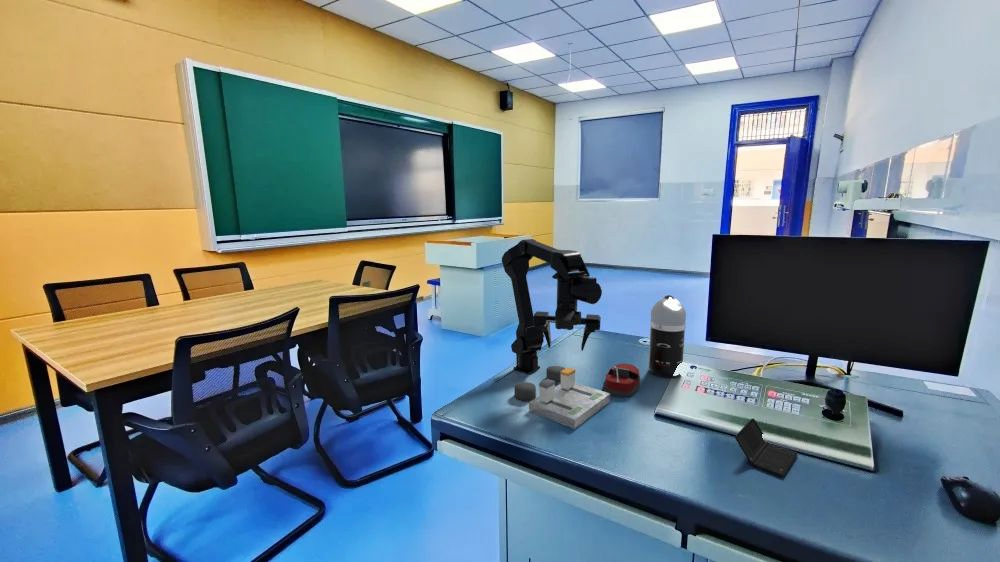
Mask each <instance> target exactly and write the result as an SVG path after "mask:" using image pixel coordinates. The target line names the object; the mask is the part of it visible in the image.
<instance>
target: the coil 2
mask: <svg viewBox="0 0 1000 562" xmlns="http://www.w3.org/2000/svg"><path fill="white" fill-rule="evenodd" d="M564 369H566V368H565V367H564V366H560V365H551V366H547V368H546V379H550V380H553V381H555V384H561V374H560V371H562V370H564Z"/></svg>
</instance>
